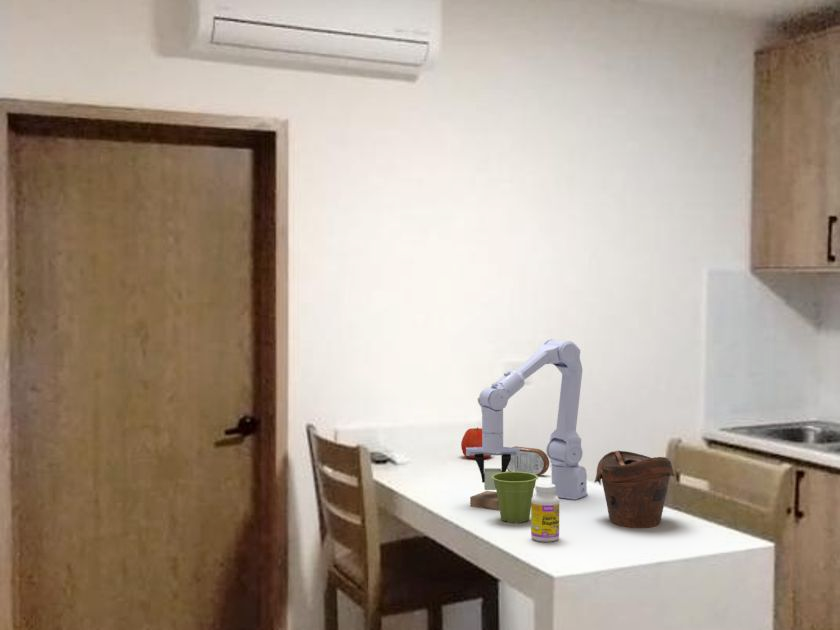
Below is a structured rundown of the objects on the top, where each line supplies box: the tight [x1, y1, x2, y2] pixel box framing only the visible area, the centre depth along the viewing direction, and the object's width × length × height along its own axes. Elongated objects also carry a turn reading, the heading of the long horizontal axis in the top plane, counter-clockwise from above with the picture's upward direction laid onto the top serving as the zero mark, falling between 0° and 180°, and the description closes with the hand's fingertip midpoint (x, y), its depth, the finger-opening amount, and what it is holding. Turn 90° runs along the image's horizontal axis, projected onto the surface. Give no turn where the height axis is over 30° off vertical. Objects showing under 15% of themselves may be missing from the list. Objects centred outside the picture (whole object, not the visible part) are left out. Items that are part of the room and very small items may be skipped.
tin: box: [506, 446, 550, 477], centre depth 313 cm, size 15×3×8 cm, turn 58°
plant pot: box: [492, 471, 539, 524], centre depth 255 cm, size 12×12×11 cm
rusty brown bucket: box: [594, 450, 675, 529], centre depth 253 cm, size 18×20×18 cm
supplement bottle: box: [530, 482, 560, 543], centre depth 237 cm, size 7×7×13 cm
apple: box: [460, 427, 492, 459], centre depth 341 cm, size 11×11×11 cm
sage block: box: [483, 467, 502, 491], centre depth 272 cm, size 4×4×5 cm
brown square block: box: [469, 490, 500, 512], centre depth 272 cm, size 9×9×3 cm
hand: (492, 481), depth 272 cm, fingers closed on sage block, 4 cm apart
